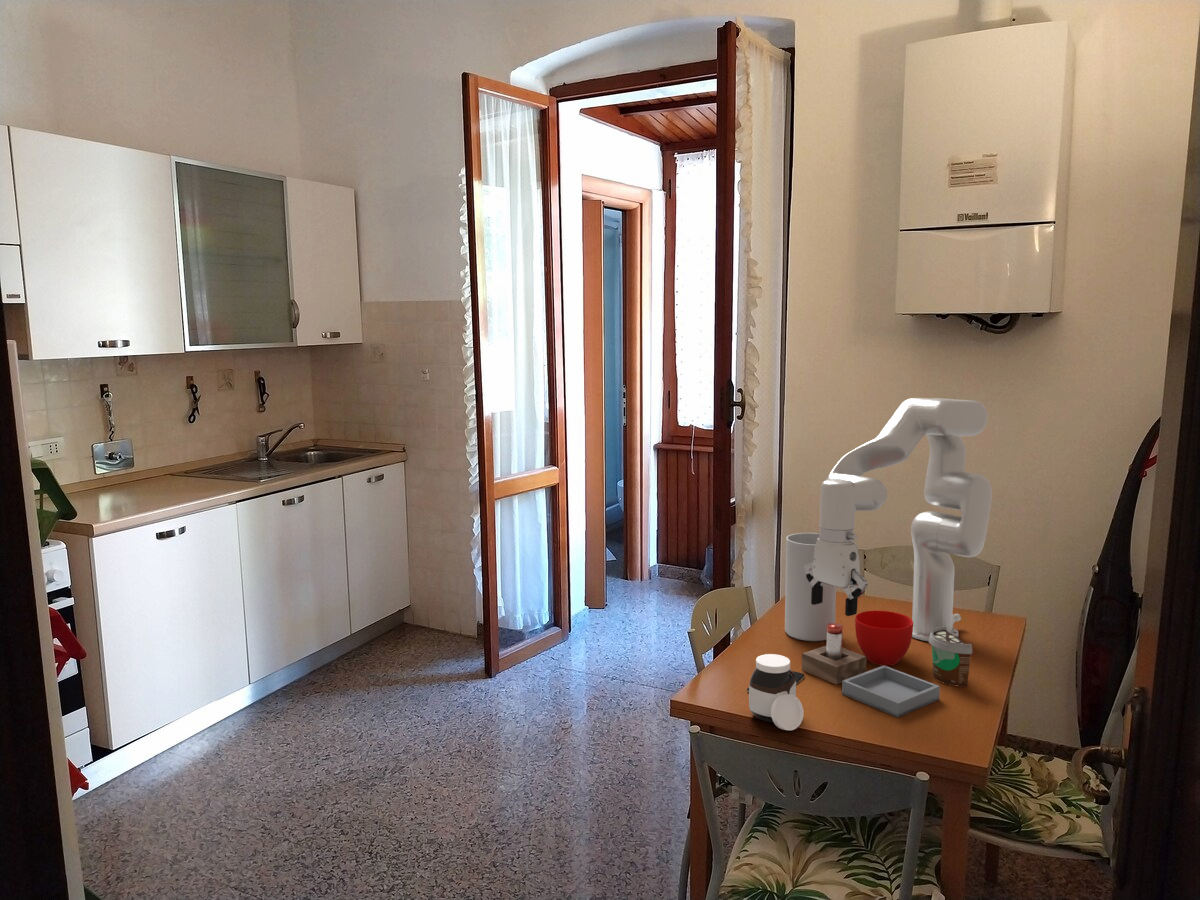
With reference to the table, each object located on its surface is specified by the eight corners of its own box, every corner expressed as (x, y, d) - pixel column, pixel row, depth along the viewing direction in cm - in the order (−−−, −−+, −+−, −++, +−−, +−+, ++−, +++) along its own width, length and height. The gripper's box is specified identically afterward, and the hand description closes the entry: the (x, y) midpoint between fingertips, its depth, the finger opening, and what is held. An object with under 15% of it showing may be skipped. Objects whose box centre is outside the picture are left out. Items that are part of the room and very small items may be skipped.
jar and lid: (767, 701, 181) (768, 648, 179) (817, 716, 173) (818, 661, 172) (738, 721, 172) (738, 666, 170) (789, 738, 164) (790, 680, 163)
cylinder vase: (784, 640, 215) (785, 543, 212) (785, 623, 227) (786, 531, 224) (835, 644, 212) (837, 545, 209) (834, 626, 224) (836, 533, 221)
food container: (917, 668, 197) (919, 626, 195) (943, 666, 197) (945, 625, 196) (943, 690, 184) (945, 646, 183) (970, 689, 185) (972, 644, 183)
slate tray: (883, 678, 191) (883, 665, 191) (939, 699, 180) (939, 686, 180) (842, 694, 183) (842, 680, 183) (897, 717, 172) (898, 703, 172)
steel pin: (832, 667, 198) (833, 621, 196) (844, 672, 195) (845, 626, 193) (822, 671, 196) (823, 625, 194) (834, 676, 193) (835, 629, 191)
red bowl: (929, 655, 204) (930, 614, 203) (895, 675, 193) (897, 633, 191) (878, 641, 213) (879, 603, 212) (843, 660, 202) (844, 619, 200)
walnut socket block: (831, 659, 202) (831, 643, 202) (865, 673, 194) (866, 656, 193) (801, 670, 197) (802, 653, 196) (836, 684, 188) (836, 667, 188)
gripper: (879, 540, 186) (876, 616, 188) (817, 526, 200) (815, 597, 202) (857, 544, 181) (853, 622, 184) (795, 529, 196) (793, 602, 198)
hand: (833, 609), depth 193 cm, fingers open, 9 cm apart
